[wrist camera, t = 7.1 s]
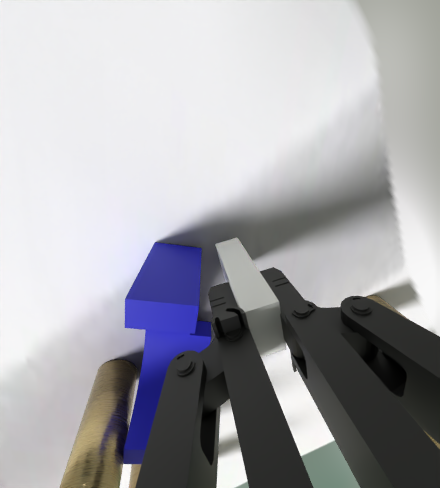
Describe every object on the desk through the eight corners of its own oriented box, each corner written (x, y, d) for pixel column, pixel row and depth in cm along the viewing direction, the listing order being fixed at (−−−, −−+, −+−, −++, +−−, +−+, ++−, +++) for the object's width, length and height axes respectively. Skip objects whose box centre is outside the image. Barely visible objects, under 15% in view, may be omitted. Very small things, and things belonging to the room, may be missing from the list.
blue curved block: (200, 376, 20) (198, 465, 14) (146, 373, 19) (123, 464, 14) (224, 250, 15) (234, 309, 10) (155, 242, 15) (125, 298, 9)
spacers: (90, 367, 18) (7, 593, 9) (385, 272, 20) (565, 385, 11) (170, 474, 26) (168, 648, 17) (372, 402, 28) (467, 527, 19)
